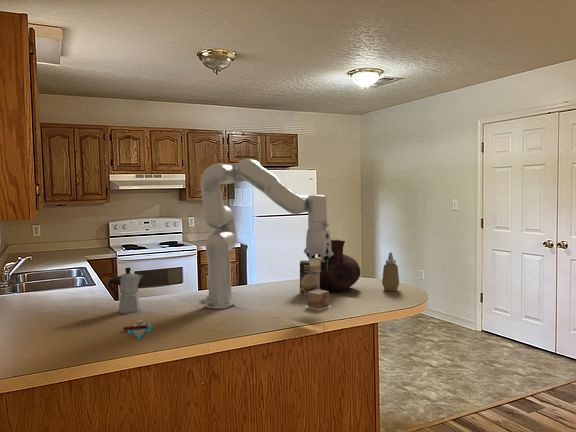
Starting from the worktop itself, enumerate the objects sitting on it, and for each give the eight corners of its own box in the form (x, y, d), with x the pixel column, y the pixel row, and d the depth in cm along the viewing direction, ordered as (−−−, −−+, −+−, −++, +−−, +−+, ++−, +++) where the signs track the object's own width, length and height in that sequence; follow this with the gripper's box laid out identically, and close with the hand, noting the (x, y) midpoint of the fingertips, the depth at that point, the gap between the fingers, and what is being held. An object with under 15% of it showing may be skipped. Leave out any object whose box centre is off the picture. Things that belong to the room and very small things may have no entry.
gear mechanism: (122, 341, 155) (151, 338, 158) (121, 326, 155) (150, 323, 157) (125, 324, 174) (151, 322, 177) (124, 310, 174) (150, 308, 177)
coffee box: (299, 298, 207) (298, 262, 206) (300, 294, 214) (299, 260, 213) (319, 298, 206) (319, 262, 205) (320, 295, 213) (319, 260, 212)
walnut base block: (319, 309, 184) (319, 294, 184) (308, 306, 188) (307, 291, 188) (329, 306, 188) (328, 291, 188) (317, 303, 192) (317, 289, 192)
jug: (366, 285, 230) (366, 235, 229) (351, 297, 208) (350, 241, 206) (319, 281, 241) (319, 234, 239) (300, 292, 218) (299, 239, 217)
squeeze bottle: (401, 292, 216) (401, 253, 215) (383, 292, 216) (383, 253, 215) (397, 288, 224) (397, 251, 223) (380, 288, 224) (380, 251, 223)
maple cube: (319, 272, 184) (319, 259, 183) (309, 270, 187) (309, 258, 187) (327, 270, 187) (327, 258, 187) (317, 269, 191) (317, 257, 190)
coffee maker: (139, 306, 199) (137, 264, 198) (149, 309, 193) (147, 266, 191) (104, 313, 189) (102, 269, 187) (114, 317, 182) (112, 272, 181)
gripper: (340, 225, 183) (341, 271, 184) (307, 224, 194) (308, 267, 196) (328, 227, 177) (329, 274, 179) (295, 225, 189) (296, 269, 190)
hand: (318, 270), depth 187 cm, fingers closed on maple cube, 4 cm apart
